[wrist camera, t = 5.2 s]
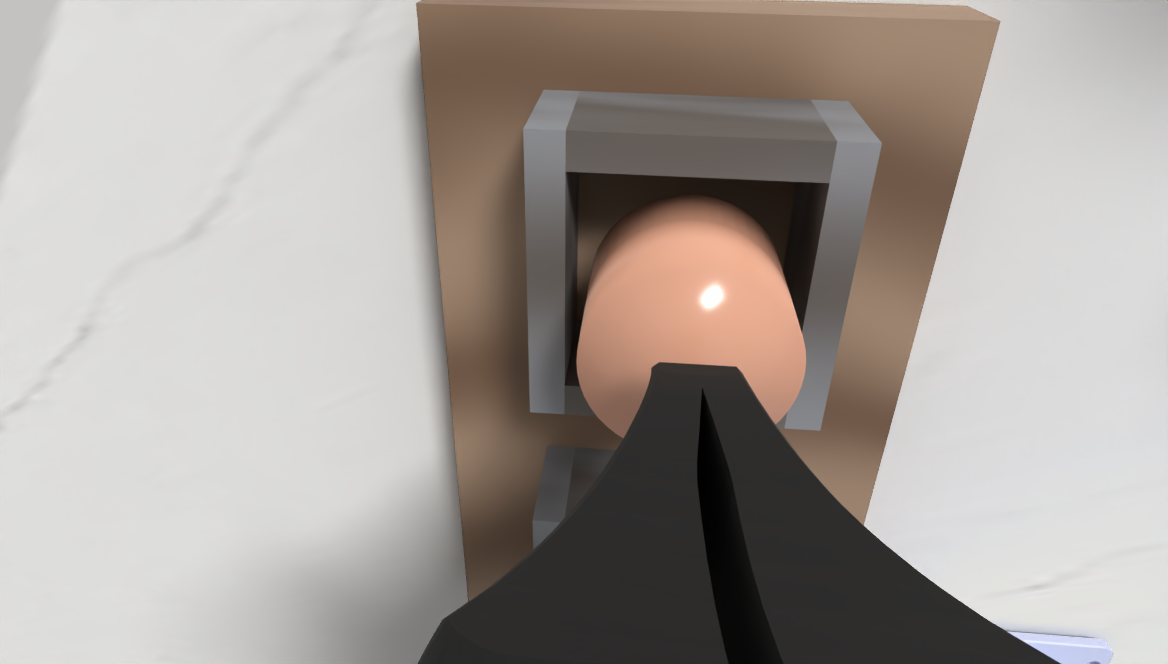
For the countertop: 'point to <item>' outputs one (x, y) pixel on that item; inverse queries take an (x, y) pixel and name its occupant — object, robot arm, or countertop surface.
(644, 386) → the terracotta plunger
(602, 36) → the button panel
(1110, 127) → the countertop surface
